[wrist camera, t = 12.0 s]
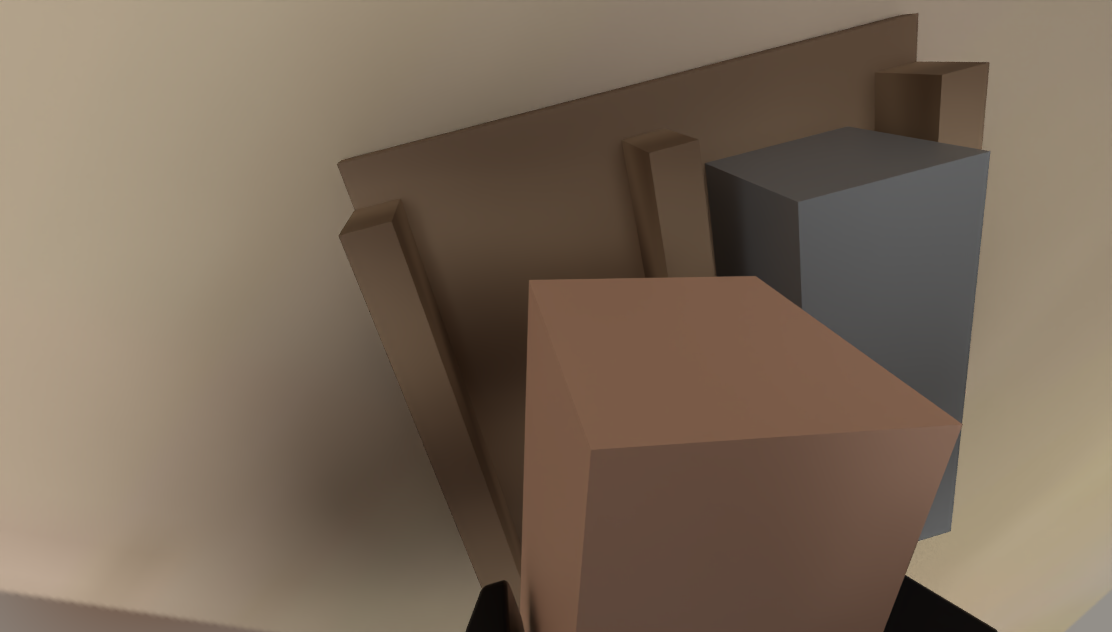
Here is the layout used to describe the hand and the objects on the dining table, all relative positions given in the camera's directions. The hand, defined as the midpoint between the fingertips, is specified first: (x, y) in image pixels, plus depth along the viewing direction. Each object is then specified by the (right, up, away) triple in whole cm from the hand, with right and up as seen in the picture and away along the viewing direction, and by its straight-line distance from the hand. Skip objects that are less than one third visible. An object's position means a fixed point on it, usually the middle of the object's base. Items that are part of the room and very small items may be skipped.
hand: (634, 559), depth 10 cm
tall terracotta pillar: (0, 0, +1) cm, 1 cm away
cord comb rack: (+2, +3, +6) cm, 7 cm away
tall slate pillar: (+5, +4, +6) cm, 8 cm away
